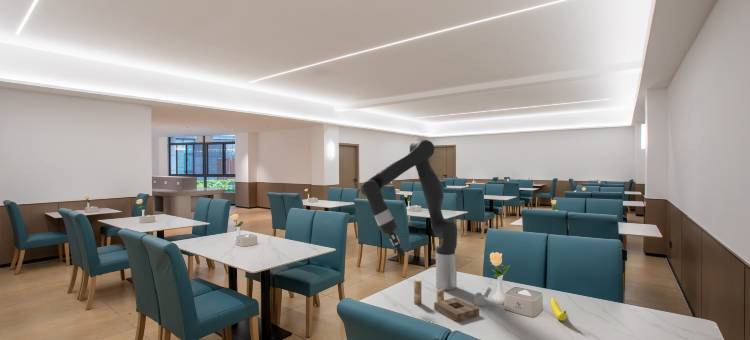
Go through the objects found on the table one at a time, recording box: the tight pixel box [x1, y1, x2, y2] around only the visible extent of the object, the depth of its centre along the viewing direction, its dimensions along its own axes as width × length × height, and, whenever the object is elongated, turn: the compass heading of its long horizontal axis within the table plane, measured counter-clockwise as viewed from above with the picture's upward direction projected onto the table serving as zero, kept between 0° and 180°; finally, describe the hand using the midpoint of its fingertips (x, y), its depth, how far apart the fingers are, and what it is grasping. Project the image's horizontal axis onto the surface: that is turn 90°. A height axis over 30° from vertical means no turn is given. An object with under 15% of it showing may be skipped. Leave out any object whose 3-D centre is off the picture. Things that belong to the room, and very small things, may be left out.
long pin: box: [413, 279, 422, 305], centre depth 165 cm, size 3×3×10 cm
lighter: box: [473, 287, 492, 307], centre depth 162 cm, size 7×2×8 cm, turn 72°
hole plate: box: [433, 297, 480, 323], centre depth 155 cm, size 12×14×3 cm
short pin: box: [436, 288, 445, 302], centre depth 168 cm, size 3×3×4 cm
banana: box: [550, 296, 568, 321], centre depth 149 cm, size 3×19×6 cm, turn 168°
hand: (401, 254), depth 165 cm, fingers open, 8 cm apart
